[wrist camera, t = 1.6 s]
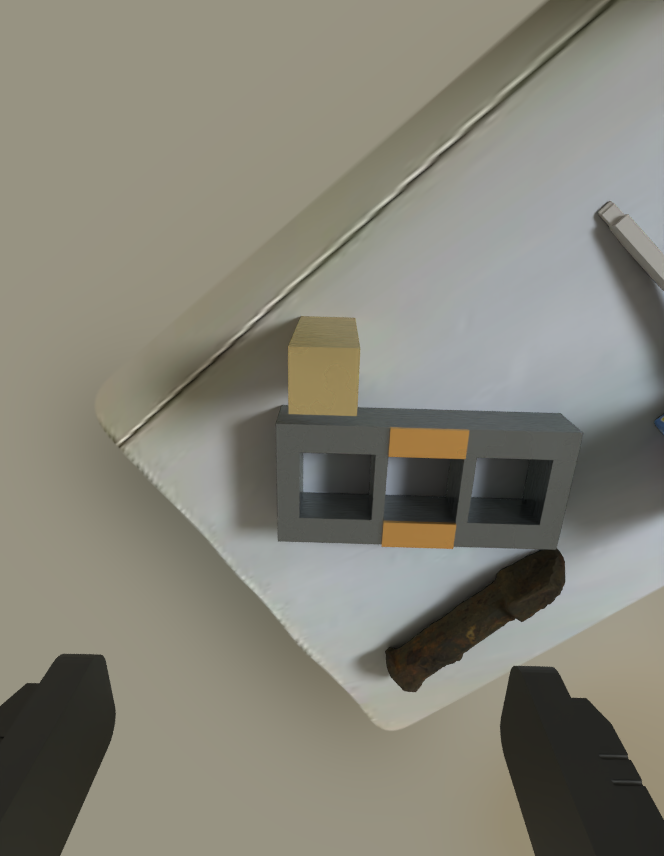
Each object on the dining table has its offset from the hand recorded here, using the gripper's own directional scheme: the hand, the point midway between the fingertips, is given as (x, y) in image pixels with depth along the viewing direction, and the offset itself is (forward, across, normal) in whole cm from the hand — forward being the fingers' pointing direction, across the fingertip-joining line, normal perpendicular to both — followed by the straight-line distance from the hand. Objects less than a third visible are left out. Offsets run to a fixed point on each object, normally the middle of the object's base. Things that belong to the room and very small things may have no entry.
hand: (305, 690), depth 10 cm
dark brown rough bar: (+31, -13, +24) cm, 41 cm away
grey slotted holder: (+30, -7, +10) cm, 32 cm away
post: (+30, 0, 0) cm, 30 cm away
